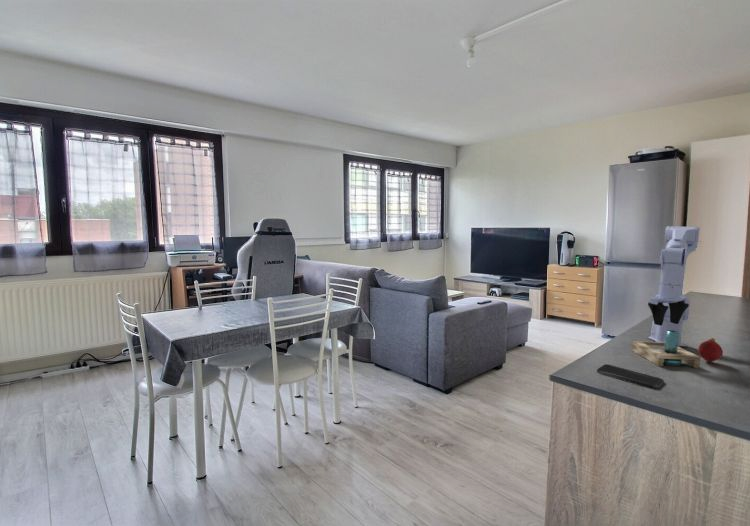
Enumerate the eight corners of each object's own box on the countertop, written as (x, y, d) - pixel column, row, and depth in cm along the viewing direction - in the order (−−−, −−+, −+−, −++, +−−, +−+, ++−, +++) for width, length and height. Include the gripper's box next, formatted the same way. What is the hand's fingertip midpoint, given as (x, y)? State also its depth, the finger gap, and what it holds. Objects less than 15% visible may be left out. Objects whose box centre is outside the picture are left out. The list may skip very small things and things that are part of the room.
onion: (712, 366, 120) (715, 341, 120) (692, 359, 126) (695, 335, 125) (725, 364, 122) (728, 340, 121) (705, 358, 128) (708, 334, 127)
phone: (657, 387, 103) (596, 369, 114) (656, 391, 103) (595, 373, 114) (665, 379, 108) (605, 363, 119) (664, 383, 108) (605, 367, 119)
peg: (653, 360, 125) (657, 330, 124) (664, 357, 127) (668, 328, 126) (673, 367, 119) (677, 335, 118) (685, 364, 122) (689, 333, 120)
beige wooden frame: (631, 350, 134) (632, 341, 133) (668, 352, 133) (669, 342, 132) (658, 366, 120) (659, 355, 119) (699, 367, 119) (700, 357, 118)
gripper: (673, 281, 134) (669, 319, 136) (642, 282, 130) (638, 322, 131) (695, 284, 128) (691, 325, 129) (664, 286, 123) (659, 328, 125)
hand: (666, 324), depth 130 cm, fingers open, 7 cm apart
